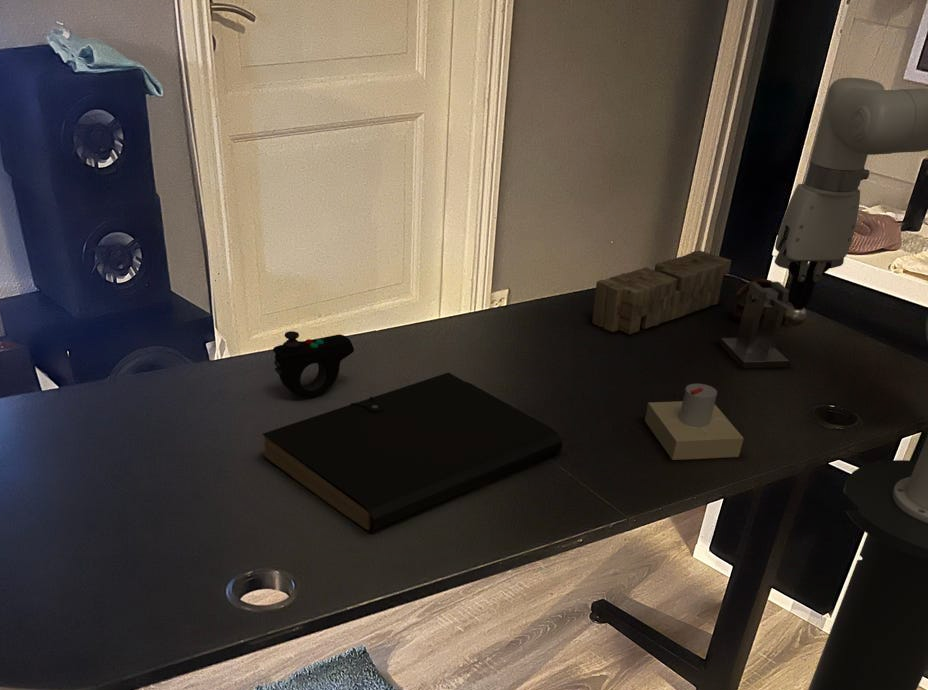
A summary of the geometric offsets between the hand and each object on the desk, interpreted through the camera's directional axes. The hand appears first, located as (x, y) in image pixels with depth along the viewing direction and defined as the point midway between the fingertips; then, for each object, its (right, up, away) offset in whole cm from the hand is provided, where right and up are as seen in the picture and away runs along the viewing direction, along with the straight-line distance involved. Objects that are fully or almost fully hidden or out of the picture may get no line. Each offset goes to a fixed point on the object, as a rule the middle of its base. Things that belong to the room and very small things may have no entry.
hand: (797, 304), depth 151 cm
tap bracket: (-2, -4, +15) cm, 16 cm away
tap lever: (-1, 0, +6) cm, 6 cm away
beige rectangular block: (-19, -23, -10) cm, 31 cm away
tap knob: (-19, -21, -11) cm, 30 cm away
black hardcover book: (-59, -27, -18) cm, 67 cm away
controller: (-74, -15, -4) cm, 76 cm away
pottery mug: (+3, +7, +29) cm, 30 cm away
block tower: (-15, +8, +29) cm, 34 cm away
